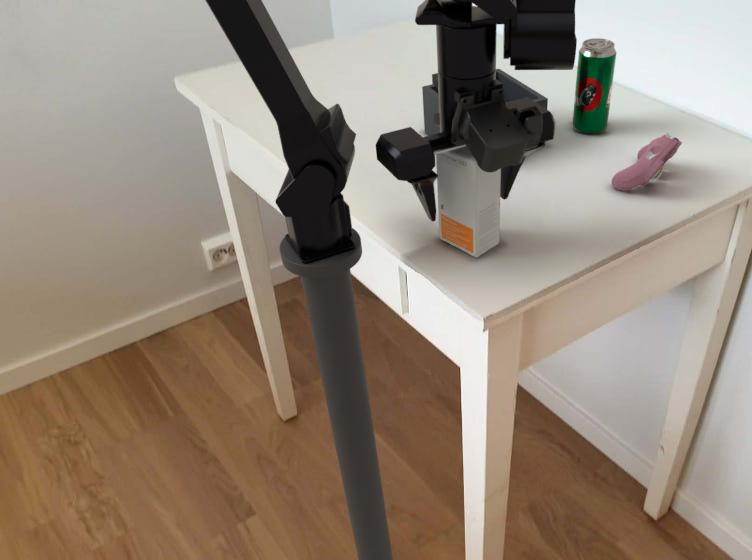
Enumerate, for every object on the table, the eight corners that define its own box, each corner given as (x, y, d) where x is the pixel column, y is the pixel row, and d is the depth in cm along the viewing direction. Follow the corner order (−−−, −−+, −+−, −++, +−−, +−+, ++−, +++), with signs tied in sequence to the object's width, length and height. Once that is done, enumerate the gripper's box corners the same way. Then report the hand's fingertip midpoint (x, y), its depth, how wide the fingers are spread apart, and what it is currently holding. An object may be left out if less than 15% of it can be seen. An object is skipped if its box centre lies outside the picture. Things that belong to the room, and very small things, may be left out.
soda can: (611, 133, 105) (623, 48, 97) (578, 137, 104) (586, 51, 96) (600, 119, 108) (609, 35, 100) (567, 122, 108) (574, 38, 100)
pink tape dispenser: (633, 208, 93) (665, 169, 87) (605, 185, 93) (636, 145, 87) (662, 175, 99) (694, 137, 93) (636, 154, 99) (666, 115, 93)
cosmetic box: (437, 240, 85) (433, 144, 77) (462, 225, 87) (460, 130, 79) (476, 260, 82) (476, 162, 74) (501, 244, 84) (503, 147, 76)
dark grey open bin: (467, 168, 98) (466, 119, 93) (424, 132, 106) (422, 86, 101) (545, 145, 102) (548, 98, 98) (498, 113, 111) (498, 68, 106)
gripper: (418, 120, 63) (427, 269, 73) (593, 76, 69) (578, 218, 80) (366, 77, 70) (381, 218, 80) (529, 41, 76) (523, 176, 87)
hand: (468, 208), depth 82 cm, fingers open, 9 cm apart
